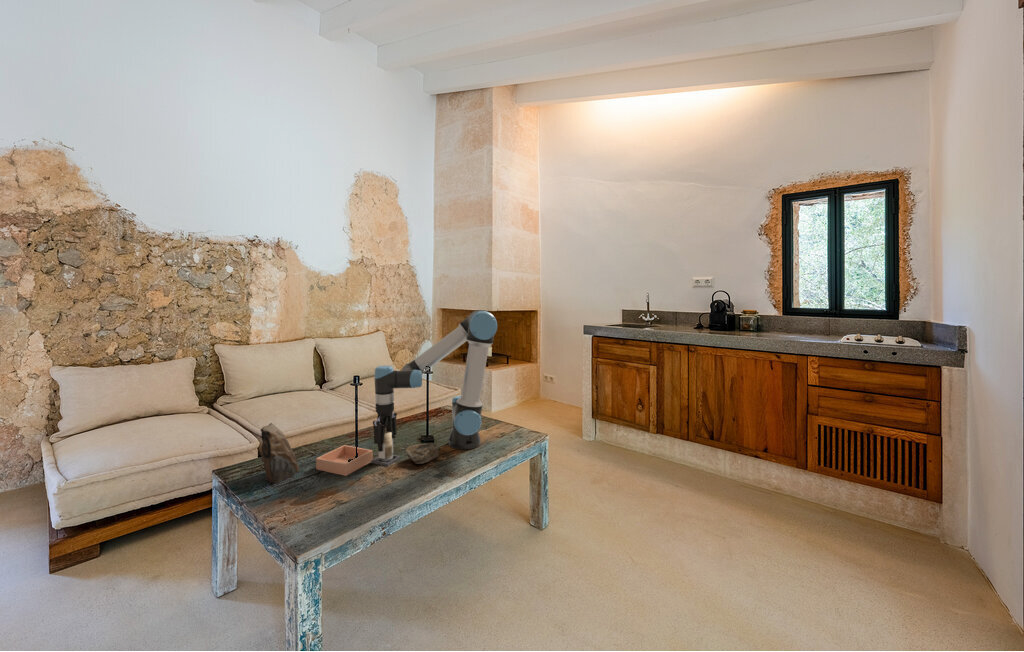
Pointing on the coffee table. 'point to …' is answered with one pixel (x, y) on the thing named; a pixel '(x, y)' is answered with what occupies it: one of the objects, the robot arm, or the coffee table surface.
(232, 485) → the coffee table surface
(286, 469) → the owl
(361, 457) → the tray
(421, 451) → the stone
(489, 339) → the robot arm
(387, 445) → the beige rounded cylinder
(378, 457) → the gray square frame
